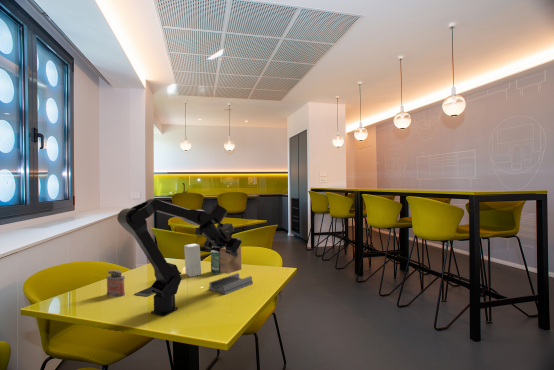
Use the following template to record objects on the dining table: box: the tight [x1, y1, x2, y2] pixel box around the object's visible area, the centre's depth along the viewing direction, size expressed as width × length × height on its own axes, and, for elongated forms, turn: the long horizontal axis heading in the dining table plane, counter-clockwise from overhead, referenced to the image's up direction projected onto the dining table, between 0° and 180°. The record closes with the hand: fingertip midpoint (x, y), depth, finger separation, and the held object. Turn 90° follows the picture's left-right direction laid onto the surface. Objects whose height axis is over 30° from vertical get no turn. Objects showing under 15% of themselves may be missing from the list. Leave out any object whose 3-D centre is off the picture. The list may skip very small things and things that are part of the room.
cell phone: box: [133, 286, 155, 298], centre depth 121 cm, size 7×14×1 cm, turn 159°
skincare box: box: [183, 243, 202, 278], centre depth 143 cm, size 8×6×15 cm
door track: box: [208, 273, 254, 296], centre depth 123 cm, size 16×10×3 cm, turn 141°
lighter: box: [106, 269, 126, 298], centre depth 117 cm, size 8×3×10 cm, turn 74°
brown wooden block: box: [220, 245, 242, 275], centre depth 123 cm, size 8×4×10 cm, turn 141°
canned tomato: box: [210, 249, 224, 275], centre depth 146 cm, size 8×8×11 cm
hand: (233, 254), depth 124 cm, fingers closed on brown wooden block, 4 cm apart
